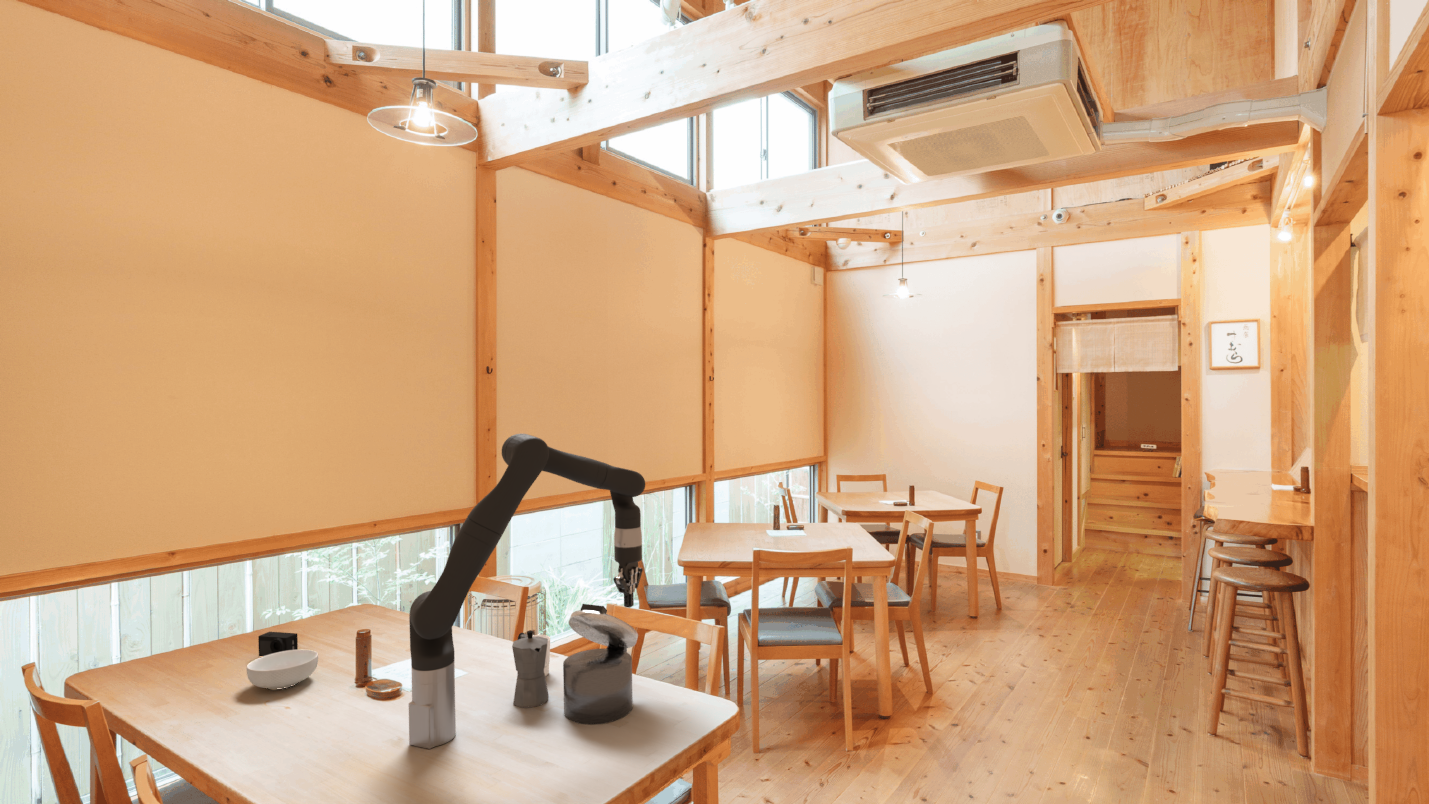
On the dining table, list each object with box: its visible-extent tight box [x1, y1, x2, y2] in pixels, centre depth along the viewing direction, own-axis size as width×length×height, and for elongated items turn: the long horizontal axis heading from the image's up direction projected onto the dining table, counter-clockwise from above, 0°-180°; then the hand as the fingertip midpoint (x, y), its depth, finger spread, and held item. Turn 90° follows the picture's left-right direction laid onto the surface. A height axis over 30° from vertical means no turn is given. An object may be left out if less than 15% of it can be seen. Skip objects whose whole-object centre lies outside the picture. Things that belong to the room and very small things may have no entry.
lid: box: [568, 603, 639, 649], centre depth 176 cm, size 19×18×3 cm
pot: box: [562, 646, 634, 725], centre depth 174 cm, size 19×17×12 cm
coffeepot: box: [511, 630, 549, 709], centre depth 179 cm, size 15×9×18 cm, turn 33°
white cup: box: [532, 634, 551, 677], centre depth 195 cm, size 8×8×10 cm
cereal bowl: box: [246, 648, 319, 689], centre depth 191 cm, size 17×17×7 cm
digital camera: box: [257, 631, 299, 657], centre depth 211 cm, size 10×5×7 cm, turn 77°
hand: (628, 606), depth 188 cm, fingers closed
